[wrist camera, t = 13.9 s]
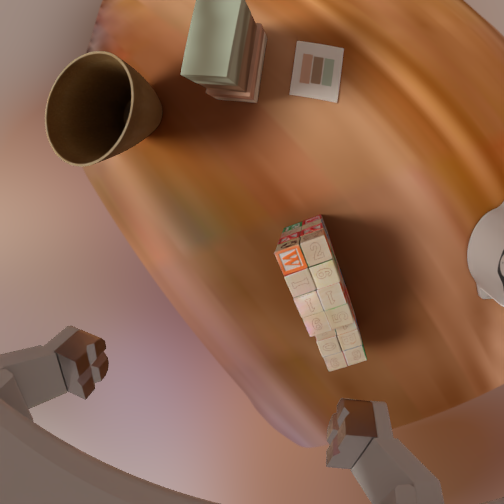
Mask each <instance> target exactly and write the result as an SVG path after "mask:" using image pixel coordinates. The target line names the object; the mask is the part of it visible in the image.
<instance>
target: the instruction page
mask: <svg viewBox="0 0 504 504" xmlns="http://www.w3.org/2000/svg"><path fill="white" fill-rule="evenodd" d="M343 53H344V48H339V47H334V46H329V45H323V44H317V43H310V42H304V41H297V45H296V52H295V59H294V66H293V73H292V80H291V86H290V93H289V95H296V96H302V97H308V98H314V99H320V100H325V101H330V102H335V103H337V100H338V93H339V85H340V78H341V70H342V61H343Z"/></svg>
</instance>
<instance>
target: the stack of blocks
mask: <svg viewBox="0 0 504 504" xmlns="http://www.w3.org/2000/svg"><path fill="white" fill-rule="evenodd" d="M277 245H278V246H277V248H276V250H275V256H276V258H277V260H278V263H279V265H280V267H281V270H282V272H283V274H284V278H285V280H286V283H287V285H288V287H289V289H290V292H291V294H292V296H293V299H294V302H295V304H296V306H297V309H298V311H299V313H300V316H301V317H302V319H303V322H304V324H305V326H306V329H307V331H308V333H309V335H310V337H312V336H315V338H316V342H317V345H318V347H319V350H320V352H321V355H322V357H323V358H324V360H325V363H326V366H327V368H328V371H333V370H336V369H340V368H344V367H347V366H349V365H353V364H356V363H359V362H362V361H366V360H367V358H366V353H365V349H364V346H363V342H362V338H361V335H360V331H359V327H358V324H357V320H356V316H355V313H354V309H353V306H352V303H351V300H350V297H349V294H348V290H347V287H346V285H345V283H344V280H343V277H342V273H341V270H340V268H339V265H338V262H337V259H336V256H335V253H334V249H333V246H332V243H331V241H330V238H329V235H328V231H327V229H326V226H325V223H324V220H323V218H322V215H318V216H315V217H313V218H310V219H307V220H304V221H302V222H300V223H297V224H294V225H292V226H289V227H286V228H284V230H283V232H282V235H281V238H280V240H279V242H278V244H277Z"/></svg>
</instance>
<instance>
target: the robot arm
mask: <svg viewBox="0 0 504 504" xmlns="http://www.w3.org/2000/svg"><path fill="white" fill-rule="evenodd" d="M467 260H468V267H469V270H470V273H471V275H472V277H473V278H474V280H475V281H476V283H477V291H478V295H479V296H480V297H481V298H482V299H494V300H495V301H496V302H497V303H499V304H500V305H501V306H503V307H504V201H503V203H502V204H501V205H500V206H499V207H497V208H496V209H493V210H491V211H490V212H488V213H487V214H485V215H484V216H483V217H482V218H481V219H480V221H479V222H478V223H477V225H476V226H475V228H474V230H473V232H472V235H471V237H470V241H469V245H468V252H467ZM105 349H106V344H105V341H104V340H103V339H102V338H99V337H97V336H95V335H92V334H90V333H88V332H85V331H83V330H80V329H78V328H75V327H73V326H67V327H66V328H65V329H64V330H62V331H61V332H60V333H59V334H58V335H56V336H55V337H54V338H53V339H52V340H51V341H49V342H48V343H47V344H46V345H44V346H41V345H39V346H35V347H31V348H27V349H22V350H18V351H13V352H9V353H5V354H0V504H219V503H215V502H211V501H207V500H204V499H200V498H196V497H193V496H190V495H187V494H183V493H180V492H177V491H174V490H171V489H168V488H165V487H162V486H160V485H157V484H154V483H151V482H149V481H146V480H144V479H141V478H138V477H136V476H133V475H131V474H129V473H126V472H124V471H122V470H119V469H117V468H115V467H113V466H111V465H109V464H106V463H104V462H102V461H100V460H98V459H96V458H94V457H92V456H90V455H88V454H86V453H84V452H82V451H81V450H79V449H77V448H75V447H73V446H72V445H70V444H68V443H66V442H64V441H63V440H61V439H59V438H58V437H56V436H54V435H53V434H51V433H50V432H48V431H46V430H45V429H43V428H42V427H40V426H39V425H37V424H36V423H34V422H33V418H32V416H31V414H30V412H29V410H28V409H30V408H32V407H35V406H37V405H39V404H41V403H44V402H46V401H49V400H51V399H53V398H55V397H58V396H60V395H62V394H65V393H67V391H68V392H70V393H73V394H75V395H77V396H79V397H81V398H83V399H87V398H88V396H89V395H90V394H91V393H92V391H93V390H94V389H95V383H96V382H100V381H102V379H103V378H104V377H105V376H106V373H107V371H108V364H109V363H108V357H107V356H106V354H105V353H104V350H105ZM327 442H328V443H329V444H330V446H329V448H328V449H327V457H326V458H327V459H326V466H327V467H333V468H344V469H351V472H352V473H353V475H354V476H355V478H356V479H357V481H358V483H359V484H360V486H361V487H362V489H363V490H364V492H365V493H366V495H367V497H368V498H369V500H370V501H371V503H372V504H444V500H443V495H442V490H441V485H440V481H439V480H438V479H437V478H436V477H435V476H434V475H433V474H432V473H431V472H430V471H429V470H428V469H427V468H426V467H425V466H424V465H423V464H422V463H421V462H420V461H419V460H418V459H417V458H416V457H415V456H414V455H413V454H412V453H411V452H410V451H409V450H408V449H407V448H406V447H405V446H404V445H403V444H402V443H401V442H400V441H399V440H398V439H394V438H393V433H392V428H391V423H390V418H389V413H388V408H387V404H386V403H385V402H378V401H365V400H354V399H345V398H341V399H340V401H339V403H338V405H337V413H335V414H333V415H332V417H331V420H330V422H329V426H328V431H327ZM482 504H504V497H502V498H499V499H496V500H492V501H489V502H485V503H482Z"/></svg>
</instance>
